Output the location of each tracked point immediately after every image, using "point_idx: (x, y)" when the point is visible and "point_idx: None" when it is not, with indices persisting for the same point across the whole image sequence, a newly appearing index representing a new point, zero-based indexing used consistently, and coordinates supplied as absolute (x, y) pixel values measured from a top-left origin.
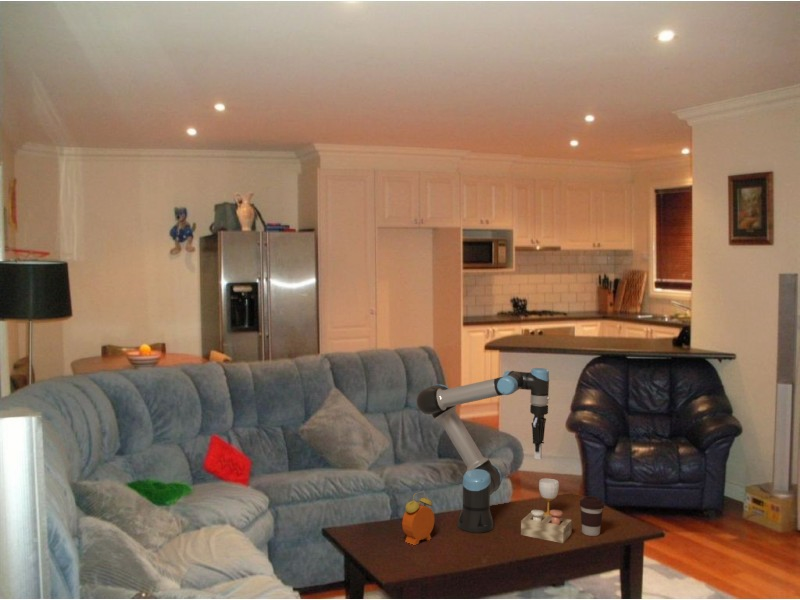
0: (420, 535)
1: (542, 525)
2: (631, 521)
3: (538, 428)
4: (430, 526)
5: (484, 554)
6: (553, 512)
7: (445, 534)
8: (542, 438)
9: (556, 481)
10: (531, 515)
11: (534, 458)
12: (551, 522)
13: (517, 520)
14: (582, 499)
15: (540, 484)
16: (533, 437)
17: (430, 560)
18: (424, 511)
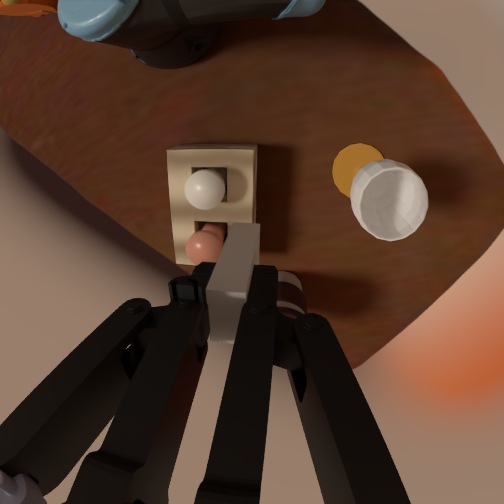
0: (34, 14)
1: (171, 211)
2: (385, 337)
3: (63, 473)
4: (45, 8)
5: (53, 130)
6: (192, 246)
7: None
8: (289, 377)
9: (413, 227)
10: (225, 161)
11: (234, 223)
12: (205, 226)
13: (284, 99)
14: (291, 317)
15: (368, 172)
16: (84, 349)
17: (6, 78)
18: (8, 7)
